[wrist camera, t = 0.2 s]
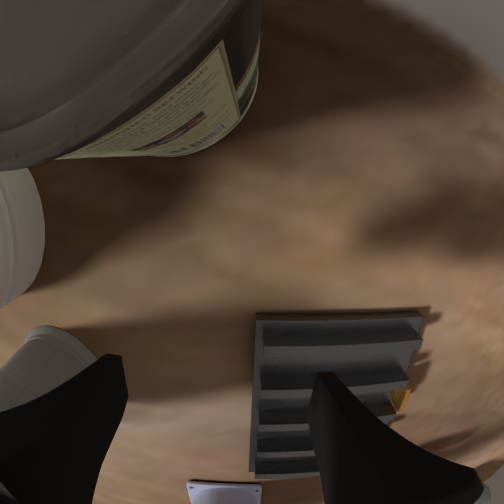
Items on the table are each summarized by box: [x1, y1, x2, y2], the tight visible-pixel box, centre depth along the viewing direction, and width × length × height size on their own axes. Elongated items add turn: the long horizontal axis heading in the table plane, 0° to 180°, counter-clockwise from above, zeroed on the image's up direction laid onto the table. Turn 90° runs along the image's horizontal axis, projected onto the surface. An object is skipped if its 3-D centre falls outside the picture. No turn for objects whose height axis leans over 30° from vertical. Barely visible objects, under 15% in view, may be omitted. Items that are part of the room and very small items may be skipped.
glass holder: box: [0, 326, 97, 412], centre depth 16 cm, size 9×14×15 cm, turn 134°
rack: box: [249, 311, 423, 479], centre depth 22 cm, size 17×12×2 cm
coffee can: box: [0, 0, 264, 172], centre depth 10 cm, size 10×10×14 cm
